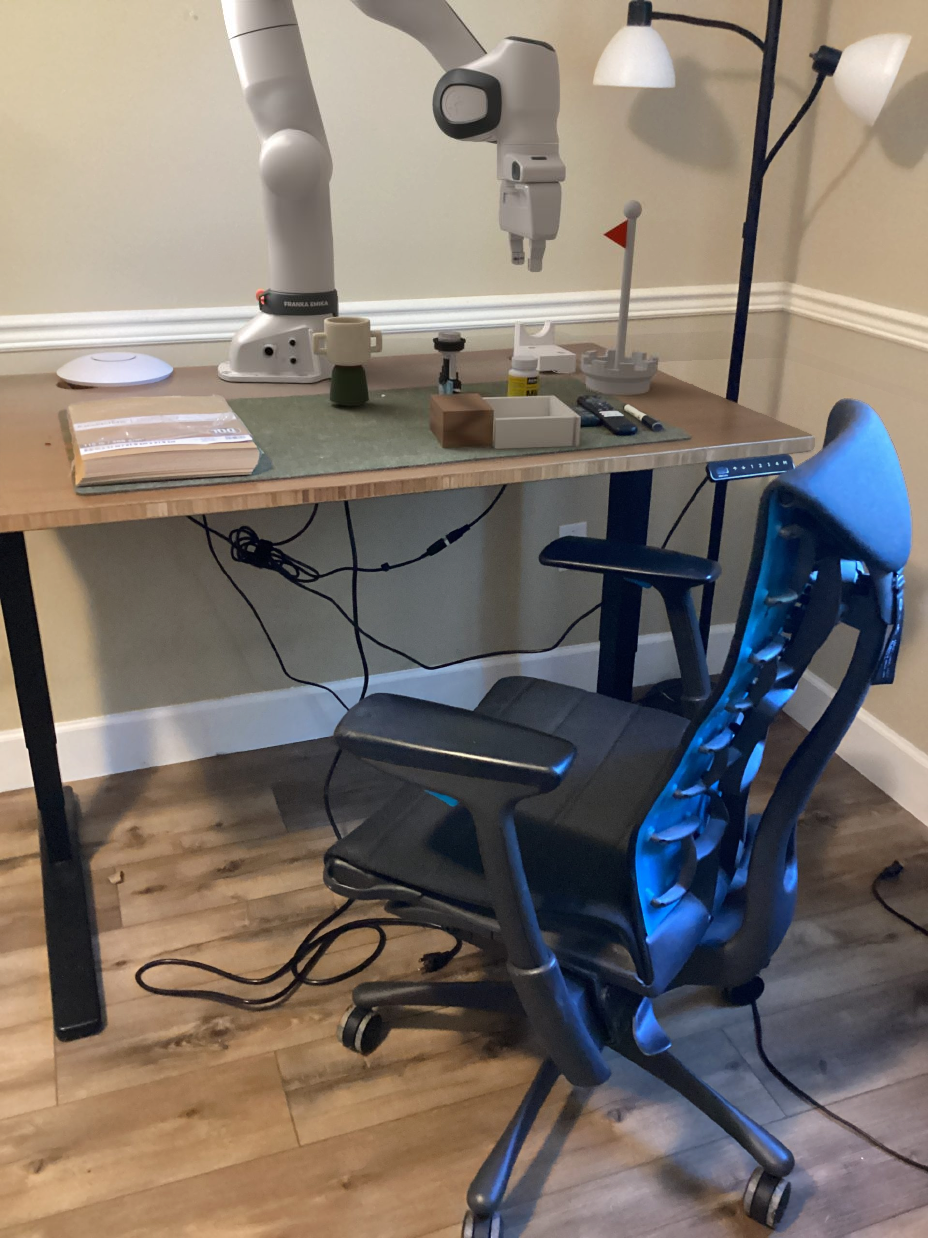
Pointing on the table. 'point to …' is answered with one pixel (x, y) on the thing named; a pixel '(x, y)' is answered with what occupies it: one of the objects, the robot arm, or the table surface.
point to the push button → (449, 361)
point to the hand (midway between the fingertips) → (526, 267)
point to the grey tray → (533, 422)
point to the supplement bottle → (523, 376)
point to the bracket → (543, 348)
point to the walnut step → (461, 420)
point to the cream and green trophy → (348, 356)
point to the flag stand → (621, 329)
